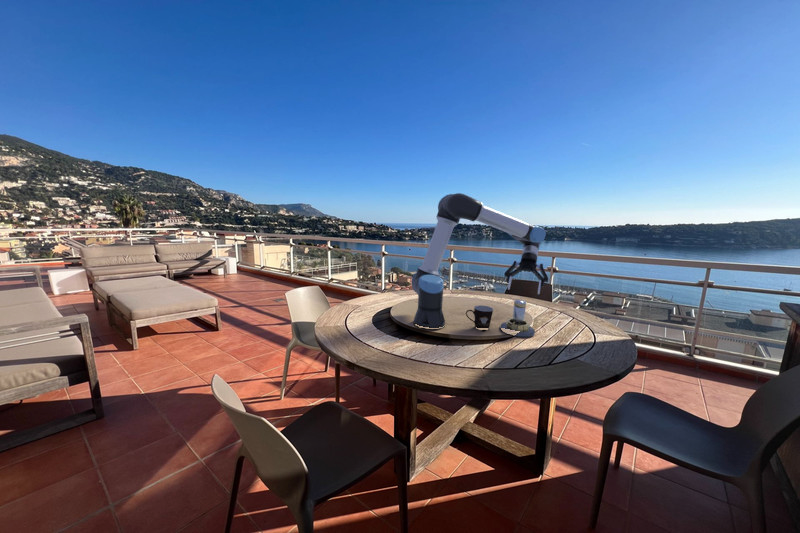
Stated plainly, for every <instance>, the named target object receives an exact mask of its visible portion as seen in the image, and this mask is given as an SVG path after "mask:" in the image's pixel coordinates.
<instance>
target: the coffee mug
mask: <svg viewBox="0 0 800 533" xmlns="http://www.w3.org/2000/svg"><path fill="white" fill-rule="evenodd" d="M469 312H472V313H473V315H474V319H473V318H470V317H469V316H468V313H469ZM493 312H494V308H493V307H490V306H488V305H474V308H473V310H472V309H468V310H466V312H465V316H466V318H467V319H469V320H470V321H471V322H472V323H474V328H475V327H477V328H489V329H490V326H491V320H492V316H493Z"/></svg>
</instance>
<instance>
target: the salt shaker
mask: <svg viewBox="0 0 800 533" xmlns="http://www.w3.org/2000/svg"><path fill="white" fill-rule="evenodd" d="M526 307H527V301H525V300H523V299H514V300H513V310H512V311H513V312H512V318H513V319H512V323H513V324H517V325H524V320H525V315H526Z"/></svg>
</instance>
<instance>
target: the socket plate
mask: <svg viewBox="0 0 800 533" xmlns="http://www.w3.org/2000/svg"><path fill="white" fill-rule="evenodd" d="M512 319H513V317H511V318H507V319H506V321H505V322H502V323H501V324H500V326H499V328H500V327H501V328H505V329H510V330H515V331H520V332H519V333H517V334H516V335H515V336H513V337H514V338H521V339H527V338H528V339H529V338H532V337H534V336H535V334H536V329H534V327H532V326H530V324H531V323H530V322H529V321H527V320H525V319H524V325H517V324H513V323H512Z"/></svg>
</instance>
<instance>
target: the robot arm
mask: <svg viewBox="0 0 800 533" xmlns="http://www.w3.org/2000/svg"><path fill="white" fill-rule="evenodd" d="M435 218H436V220H437V223H436V226H435V228H434V230H433V234H432V237H431V240H430V242H429V244H428V248H427V251H426V254H425V255H424V258H423V262H422V265H421V266H418V268H417V269H416V270H417V271H416V272H415V273H414V274H413V276H412V278H411V287H412V290H413V291H414V293H416V295H417V310H416V313H415V315H414V318H413V324H414V323H415V324H417V325H419V326H423V327H429V328H439V327H443V326H444V325H445V326H446V321H445V316H444V313H443V302H444V288H445V285H444V280H443V278H442V277H440V272H439V269H440V265H441V263H442V260H443V258H444V255H445V252H446V249H447V247H448V244H449V241H450V239H451V236H452V232H453V230H454V228H455V227H456V226H457V225H459V223H460V220H461V219H462V220H463V219H464V220H467V221H471V222H476V221H477V222H479V223H482V224H484V225H487V226H490V227H491V228H492V227H493V228H494V229H497V230H500V231H502V232H505V233H507V235H509V236H510V237H512V238H513V239H515V240H516V241H517V242H519V243H520V244H522V245H523V248H522V252H521V258H520V261H519V262H518V261H516V260H514V261H513V263H512V264H511V266H510V267H509V268H508V269H506V271H505V272H504V278H506V284H507V291H508V290H510V289H511V286H512V285H511V284H512V281H513V277H514V276H516V275H518V274H519V273H522V272H527V273H530V272H531V273H532V274H534V276H535V277H536V278H537V280H539V282H538V287H537V295H540V293H541V289H543V288H544V283H549V277H548V274H547V272H546V271H545V268H544V264H543V263H540V264H537V263H538V255H539V250H540V244H541V243H542V242H543V241H544V240H545V238H546V230H545V229H544V227H541V226H538V225H537V226H535V225H532V224H531V223H528V222H525V221H523V220H520V219H518V218H516V217H513V216H511V215H508V214H505V213H503V212H502V211H498V210H496V209H493V208H491V207H489V206H486V205H484V204H483V202H482V201H481V200H478V199H476V198H473V197H472V196H469V195H467V194H465V193H460V192H459V193H458V192H457V193H449V194H446V195H444V196H443V197H442V198H441V199H440V200H439V202H438V205H437V213H436V217H435ZM516 267H517V268H516ZM515 268H516V269H515ZM537 269H538V270H539V271H540V273H539V271H538V270H537ZM445 326H444V327H445ZM444 327H443V328H444Z"/></svg>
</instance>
